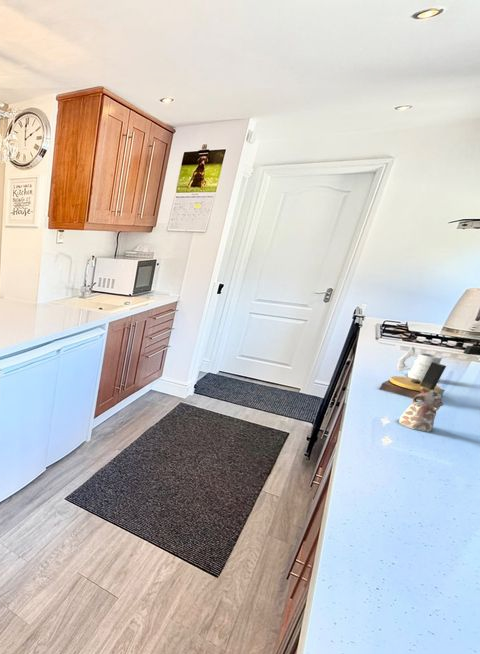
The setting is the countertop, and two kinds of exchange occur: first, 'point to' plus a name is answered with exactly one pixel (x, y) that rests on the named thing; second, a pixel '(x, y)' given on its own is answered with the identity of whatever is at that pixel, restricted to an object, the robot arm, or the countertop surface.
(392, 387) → the wheel base
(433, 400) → the figurine
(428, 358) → the mug
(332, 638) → the countertop surface
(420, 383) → the wheel
